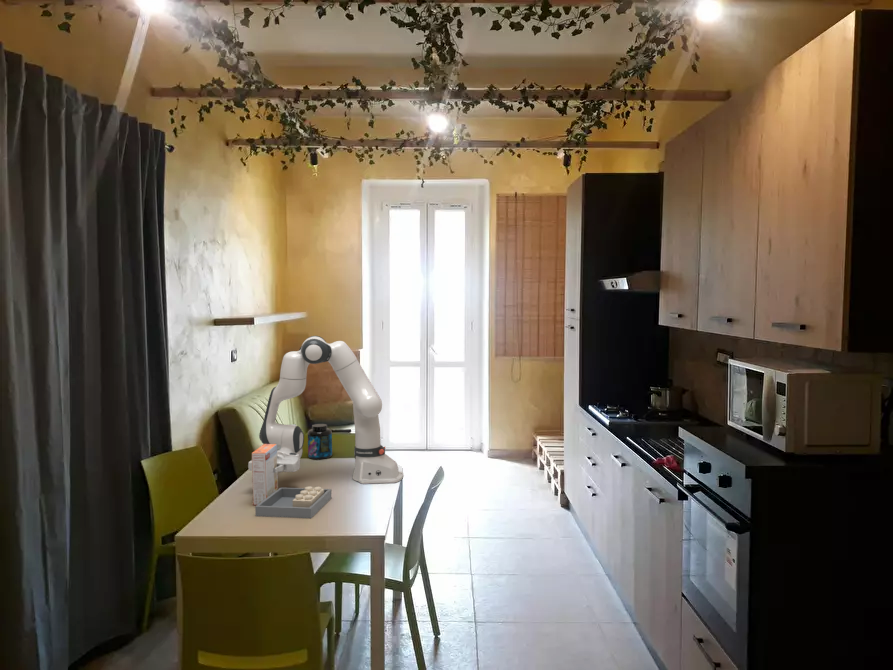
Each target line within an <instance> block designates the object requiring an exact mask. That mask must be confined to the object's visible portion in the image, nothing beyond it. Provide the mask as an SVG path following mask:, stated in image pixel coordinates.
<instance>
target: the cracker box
mask: <svg viewBox="0 0 893 670" xmlns="http://www.w3.org/2000/svg"><path fill="white" fill-rule="evenodd" d="M251 460H252V471H251V473H252V475H251V476H252V504H253V505H252V506H257V505H258V504H259V503H261V502H262V501H263V500H265V499H266V498H267V497H269V496H270V495H271V494H273V493H274V492H275V491H277V490H278V489H279V480H278V479H279V475H278V474H279V472H277V473H274V472H273V468H274V467H277V444H263V443H262V445H260V446H259V447H258V448H256V449H255V450H254V451H253V452H251Z"/></svg>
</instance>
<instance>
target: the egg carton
mask: <svg viewBox="0 0 893 670" xmlns="http://www.w3.org/2000/svg"><path fill="white" fill-rule="evenodd" d="M304 488H305V490H302V491H300V494H298V495H296V498H295V499H294V500H293V507H307V508H309V507H310V506H311V505H312V504H314V503H315V502H316V501H317V500H318V499H319V498H320V497H321V496H322V495H323V494H324V489H325V488H322V487H321V486H315V487H313V486H311V485H309V486H305V487H304Z"/></svg>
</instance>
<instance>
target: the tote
mask: <svg viewBox="0 0 893 670" xmlns="http://www.w3.org/2000/svg"><path fill="white" fill-rule="evenodd" d="M323 489H324V494H323V495H322V496H321V497H320V498H319V499H318V500H317V501H316V502H315V503H314V504H312V505H311V506H310V507H309V508H307V507H293V500H294V499H295V498H296V495H298V494H300V491H302V490H305V487H304V488H303V487H278V490H277V491H275V492H274V493H273V494H271V495H270V496H269V497H267V498H266V499H265V500H263V501H262V502H261V503H259V504H258V505H254V506H255V507H254V509H255V510H254V511H255V517H265V518H266V517H268V518H288V519H289V518H292V519H293V518H294V519H313V517H314V516H315V515H316V514H318V512H319V511H320V510H321V509H322V508H323V507H325V505H326V504H327V503H328V502H329V501H330V500H331V499H332V489H331V488H323Z"/></svg>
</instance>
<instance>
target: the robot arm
mask: <svg viewBox="0 0 893 670" xmlns="http://www.w3.org/2000/svg"><path fill="white" fill-rule="evenodd" d="M327 362H328V363H329V364H330V365H331V367H332V370H333V372H334V373H335V375H336V376H337V378H338V380H339V382H340V383H341V385H342V387H343V389H344V390H345V392H346V393H347V395H348V397H349V398H350V400H351V401H352V408H353V409H352V410H353V411H352V412H353V421H354V434H355V435H354V436H355V437H354V438H355V440H354V442H355V446H354V450H353V451H354V452H353V453H354V454H353V455H354V468H353V469H354V471H353V474H352V480H353V481H356V482H359V484H363V485H364V484H365V485H366V484H393V483H394V484H395V483H398V482H400V481H401V480H403V478H404V476H405V475H404V472H402V471H400V470H399V467H398V466H399V465H398V463H397V461H396V460H395V459H393V458H392V457H390V456H389V455H387V454H386V446H383V445H381V443H382V442H381V425H380V419H379V418H380V417H379V414H380V413H381V411H382V409H383V402H382V399H381V397H380V396H379V394H378V392H377V391H376V388H375V387H374V385H373V383H372V382H371V381H370V379H369V377H368V376H367V374H366V372H365V370H364V369H363V367H362V365H361V363H360V361H359V360H358V358H357V356H356V355H355V353H354V351H353V350H352V349H351V348H350V346H349V345H348V344H347V343H346V341H343V340H337V341H333V342H331V343H328V342H327V340H325V338H323V337H321V336H318V335H311V336H308V337H307V338H306V339H305V340H304V341H303V343H302V344H301V346H300V347H299V350H297V351H296V350H295V351H294V350H293V351H289V352H286V353H285V354H284V355H283V357H282V360H281V365H280V373H279V380H278V383H277V386H275V387H273V388H272V390H271V392H270V394H269V397H268V401H267V405H266V408H265V414H264V418H263V420H262V421H263V422H262V425H261V427H260V430H259V434H258V436H259V440H260V442H261V443H262V445H263V444H277V446H279V447H281V449H279V450H278V451H277V467H274V468H273V472H274V473H277V472H278V473H283V472H284V473H286V472H288V473H293V472H297V471H298V470H300V469H301V457H302V456H303V447H304V442H305V435H304V432H303V429H302V428H301V427H300V426H299V425H296V426H294V425H290V424H284V423H277V422H276V419H277V414H278V411H279V407H280V404H281V403H282V402H284V401H287V400H290V399H293V398H296V397H298V396H300V395H301V394H303V392H305V389H306V386H307V375H308V373H307V372H308V367H309V365H310V364H312V365H318V364H321V363H327ZM247 467H248V470H249V471H251V472H252V459H251V460H250V461H248V465H247Z"/></svg>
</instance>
